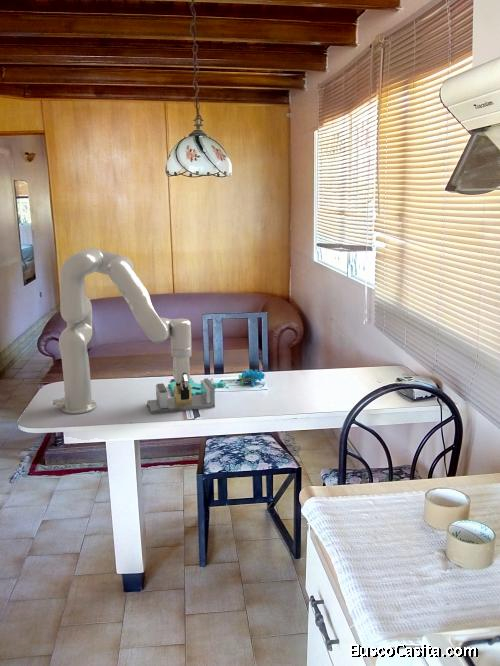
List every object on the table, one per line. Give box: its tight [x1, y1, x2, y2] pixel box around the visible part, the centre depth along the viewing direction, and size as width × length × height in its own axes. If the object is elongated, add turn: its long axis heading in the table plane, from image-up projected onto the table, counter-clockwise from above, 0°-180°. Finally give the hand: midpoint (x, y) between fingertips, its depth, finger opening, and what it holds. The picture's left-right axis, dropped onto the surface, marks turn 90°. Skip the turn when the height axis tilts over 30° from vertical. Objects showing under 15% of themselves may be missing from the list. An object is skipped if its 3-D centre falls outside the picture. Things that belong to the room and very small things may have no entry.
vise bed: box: [146, 377, 216, 415], centre depth 212 cm, size 24×11×8 cm, turn 108°
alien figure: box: [167, 377, 227, 397], centre depth 231 cm, size 20×2×20 cm
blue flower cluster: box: [238, 369, 266, 387], centre depth 236 cm, size 11×6×10 cm
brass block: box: [173, 385, 192, 404], centre depth 212 cm, size 6×4×6 cm, turn 108°
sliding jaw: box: [155, 382, 169, 409], centre depth 210 cm, size 3×10×7 cm, turn 18°
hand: (182, 395), depth 212 cm, fingers open, 9 cm apart
